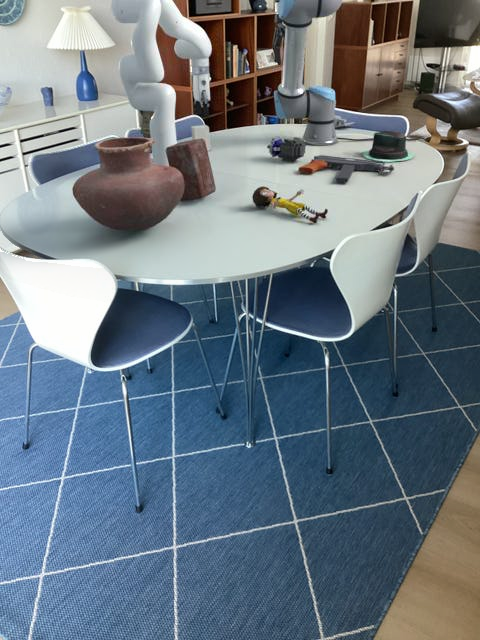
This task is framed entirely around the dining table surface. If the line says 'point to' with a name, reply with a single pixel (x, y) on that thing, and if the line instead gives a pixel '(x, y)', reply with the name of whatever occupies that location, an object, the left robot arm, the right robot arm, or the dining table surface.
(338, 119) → the camera
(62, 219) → the dining table surface
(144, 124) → the statue
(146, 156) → the clay pot
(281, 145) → the toy
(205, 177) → the rough terracotta slab
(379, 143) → the dark porkpie hat
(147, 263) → the dining table surface
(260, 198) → the figurine
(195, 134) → the brick
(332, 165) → the submachine gun
